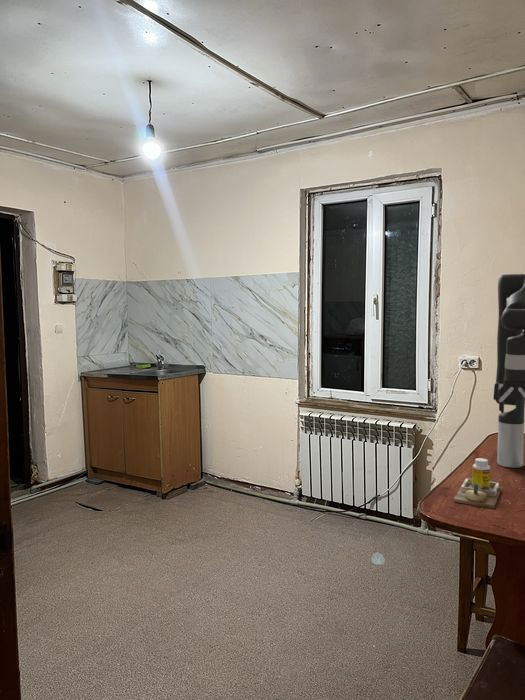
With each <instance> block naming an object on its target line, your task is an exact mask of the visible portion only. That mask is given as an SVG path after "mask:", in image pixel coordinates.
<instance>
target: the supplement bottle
mask: <svg viewBox="0 0 525 700" xmlns="http://www.w3.org/2000/svg"><path fill="white" fill-rule="evenodd" d="M471 475H472V477H471V479H472V488H474V484H478V489H482V490H489V489H490V482H491V466H490V465H489V461H488V459H486V458H483V457H481V458H480V457H479V458H478V457H477V458H475V460H474V464H473V465H472V470H471Z"/></svg>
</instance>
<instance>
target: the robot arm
mask: <svg viewBox="0 0 525 700" xmlns="http://www.w3.org/2000/svg"><path fill="white" fill-rule="evenodd" d="M497 280H498V282H497V298H498V299H497V304H498V307H497V308H498V320H497V321H498V322H497V338H496V339H497V340H496V341H497V343H496V345H497V346H496V348H497V350H496V351H497V352H496V353H497V354H496V356H497V357H496V363H497V365H496V377H495V383H494V387H493V388H494V389H493V401H495V403H496V404H498V410H499V412H500V413H499V414H498V417H497V418H498V419H497V420H498V421H497V452H496V453H497V454H496V455H497V458H496V459H497V460H496V462H497V465H499V466H502V467H505V468H516V469H518V468H522V467H523V466H524V443H525V441H524V439H525V433H524V432H525V273H514V274H513V273H510V274H501V275H499V277H498V279H497ZM505 405H506V406H507V405H508V406H515V408H514V409H511V410H509V411H505Z"/></svg>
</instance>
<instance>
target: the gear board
mask: <svg viewBox="0 0 525 700" xmlns="http://www.w3.org/2000/svg"><path fill="white" fill-rule="evenodd" d="M501 491H502V487H500V483H499V482H495V481H490V489H489V490H482V489H478V484H474V488H472V478H469V477H466V478H465V479H464V480H463V483H462V484H461V486H460V488H459V490H458V491H457V493H456V494H455V496H454V497H453V502H454V503H461V504H464V505H465V504H466V505H471V506H477V507H484V508H489V509H495V507H496V506H497V505H496V504H497V503H498V500H497V499H499V496H500V495H501Z"/></svg>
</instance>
